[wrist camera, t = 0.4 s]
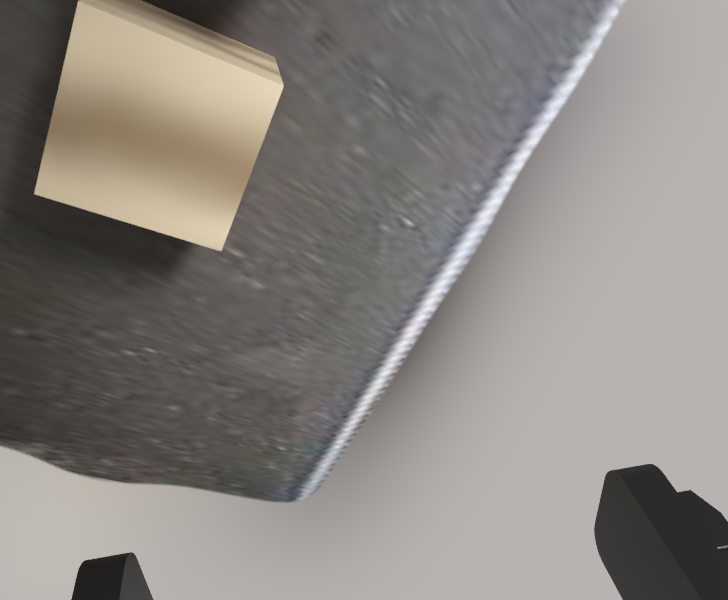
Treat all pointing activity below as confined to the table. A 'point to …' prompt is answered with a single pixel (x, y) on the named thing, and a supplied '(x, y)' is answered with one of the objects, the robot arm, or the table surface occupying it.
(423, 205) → the table surface
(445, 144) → the table surface
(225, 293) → the table surface
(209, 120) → the maple block
